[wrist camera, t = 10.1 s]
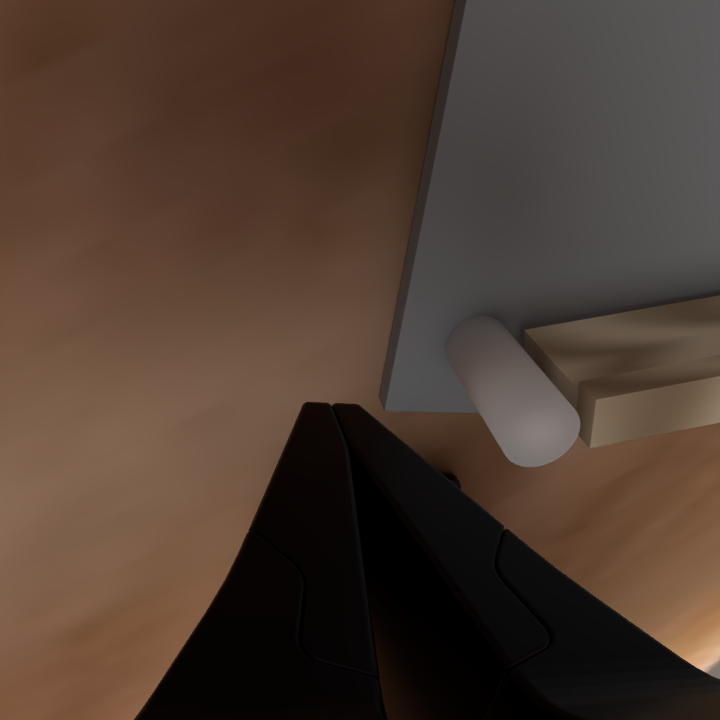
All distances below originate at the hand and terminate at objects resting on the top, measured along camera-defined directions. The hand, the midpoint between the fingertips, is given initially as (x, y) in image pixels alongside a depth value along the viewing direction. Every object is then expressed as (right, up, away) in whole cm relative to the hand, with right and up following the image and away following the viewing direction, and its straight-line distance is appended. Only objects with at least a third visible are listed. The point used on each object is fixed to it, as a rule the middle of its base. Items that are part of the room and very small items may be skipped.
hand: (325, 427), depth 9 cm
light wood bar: (+14, +3, +14) cm, 20 cm away
